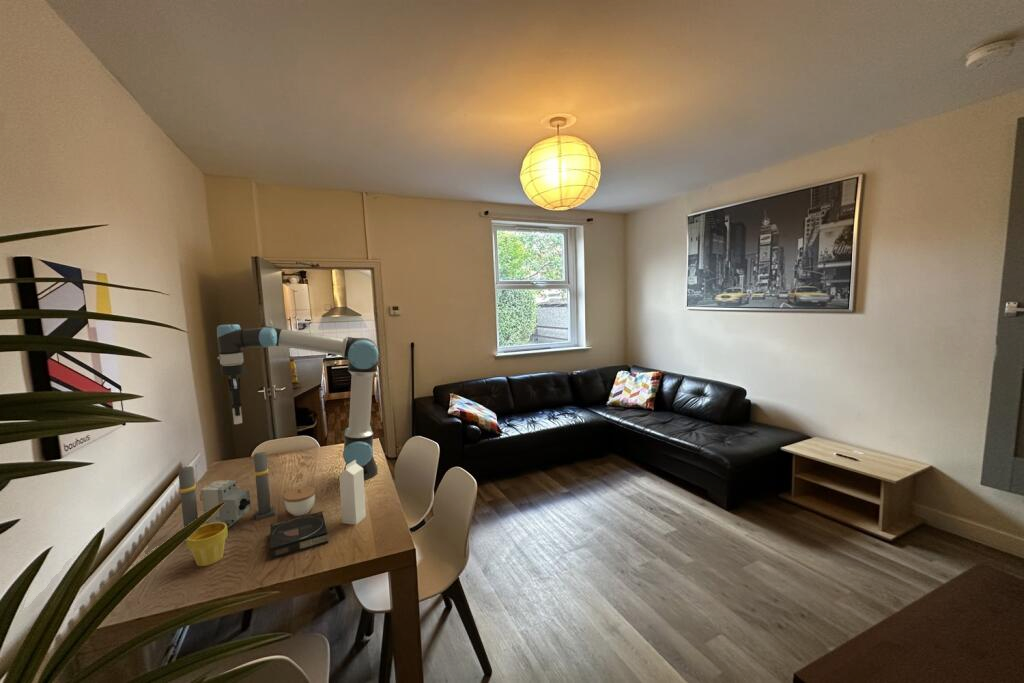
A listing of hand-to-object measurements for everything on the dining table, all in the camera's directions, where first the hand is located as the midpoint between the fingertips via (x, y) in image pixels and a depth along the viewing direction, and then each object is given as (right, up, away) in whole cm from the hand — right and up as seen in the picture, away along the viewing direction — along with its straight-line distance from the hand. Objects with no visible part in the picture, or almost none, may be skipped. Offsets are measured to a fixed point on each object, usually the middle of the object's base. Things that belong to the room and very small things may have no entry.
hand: (238, 423), depth 159 cm
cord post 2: (+13, -34, -5) cm, 37 cm away
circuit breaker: (+5, -35, -11) cm, 37 cm away
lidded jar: (+27, -34, -3) cm, 43 cm away
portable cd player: (+35, -36, -21) cm, 54 cm away
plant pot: (+13, -37, -32) cm, 50 cm away
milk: (+50, -34, -10) cm, 61 cm away
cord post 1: (-4, -36, -17) cm, 40 cm away
